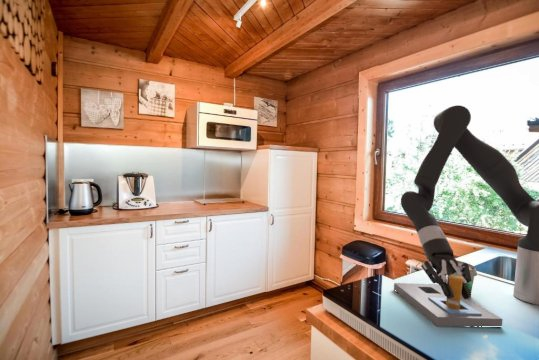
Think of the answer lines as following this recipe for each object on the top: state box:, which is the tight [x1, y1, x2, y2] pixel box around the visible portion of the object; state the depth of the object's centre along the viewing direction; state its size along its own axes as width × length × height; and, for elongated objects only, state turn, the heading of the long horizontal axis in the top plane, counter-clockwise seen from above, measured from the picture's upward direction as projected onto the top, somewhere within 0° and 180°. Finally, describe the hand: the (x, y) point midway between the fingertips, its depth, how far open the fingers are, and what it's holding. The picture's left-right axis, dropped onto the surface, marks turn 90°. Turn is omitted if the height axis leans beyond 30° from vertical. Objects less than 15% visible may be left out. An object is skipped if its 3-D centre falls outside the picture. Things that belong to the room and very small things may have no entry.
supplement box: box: [446, 274, 463, 309], centre depth 78 cm, size 3×3×10 cm
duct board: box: [393, 282, 503, 328], centre depth 83 cm, size 18×22×3 cm
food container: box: [446, 260, 478, 295], centre depth 94 cm, size 12×6×10 cm, turn 168°
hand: (459, 297), depth 77 cm, fingers closed on supplement box, 4 cm apart
